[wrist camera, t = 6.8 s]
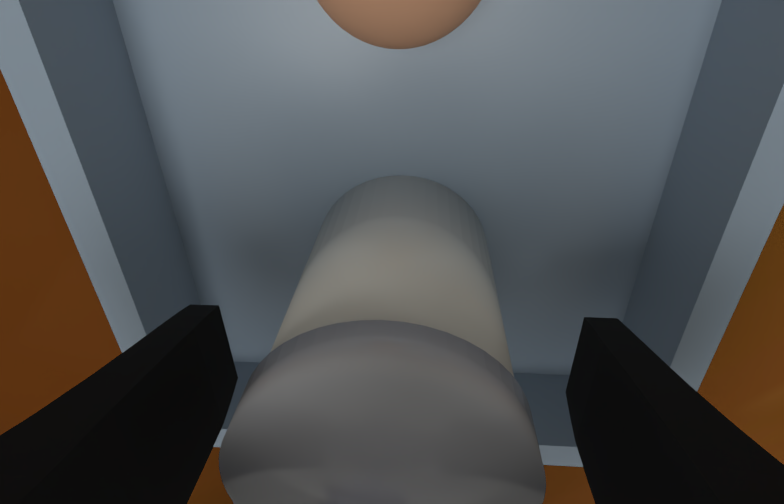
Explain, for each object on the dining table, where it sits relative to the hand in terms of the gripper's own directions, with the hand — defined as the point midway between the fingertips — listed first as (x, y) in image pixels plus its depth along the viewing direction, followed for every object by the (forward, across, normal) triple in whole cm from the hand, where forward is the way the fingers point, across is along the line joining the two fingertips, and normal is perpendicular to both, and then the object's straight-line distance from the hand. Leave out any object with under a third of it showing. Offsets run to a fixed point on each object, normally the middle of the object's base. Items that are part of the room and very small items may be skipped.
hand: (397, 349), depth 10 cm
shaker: (+3, 0, 0) cm, 3 cm away
